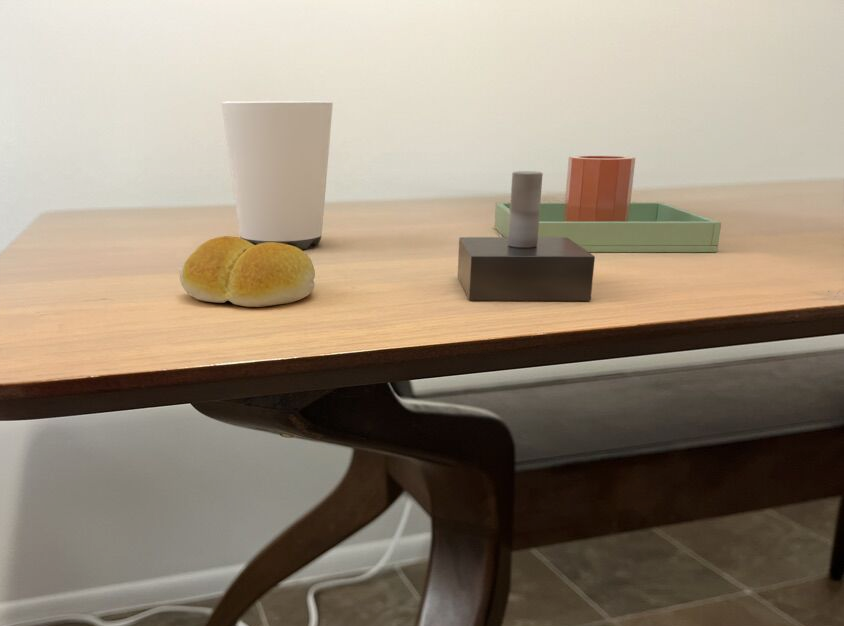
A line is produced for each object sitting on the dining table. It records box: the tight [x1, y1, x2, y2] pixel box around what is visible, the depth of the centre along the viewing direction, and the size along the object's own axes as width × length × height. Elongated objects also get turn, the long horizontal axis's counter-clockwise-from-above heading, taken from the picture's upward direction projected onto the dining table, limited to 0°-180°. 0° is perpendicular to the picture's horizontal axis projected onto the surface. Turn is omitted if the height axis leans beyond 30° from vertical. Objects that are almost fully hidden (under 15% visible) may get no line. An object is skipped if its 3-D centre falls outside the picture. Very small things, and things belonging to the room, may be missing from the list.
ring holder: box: [457, 170, 596, 302], centre depth 56 cm, size 8×8×8 cm
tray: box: [494, 201, 722, 253], centre depth 78 cm, size 17×15×3 cm
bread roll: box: [179, 235, 316, 308], centre depth 56 cm, size 8×9×4 cm
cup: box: [221, 100, 334, 251], centre depth 74 cm, size 10×10×13 cm
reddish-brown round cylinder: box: [563, 154, 636, 222], centre depth 77 cm, size 6×6×7 cm
